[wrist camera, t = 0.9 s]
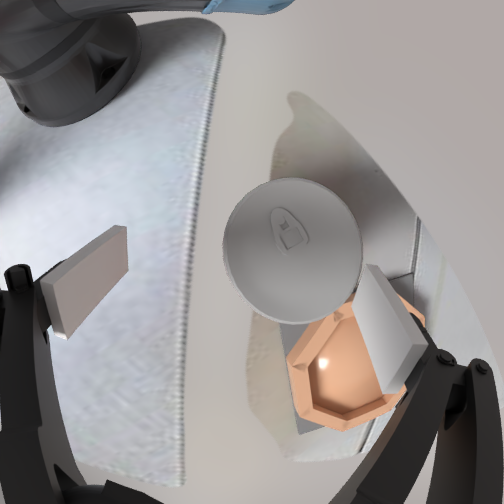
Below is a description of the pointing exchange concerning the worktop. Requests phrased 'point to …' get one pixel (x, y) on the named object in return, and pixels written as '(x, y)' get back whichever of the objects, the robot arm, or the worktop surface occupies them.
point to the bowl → (338, 372)
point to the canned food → (293, 250)
